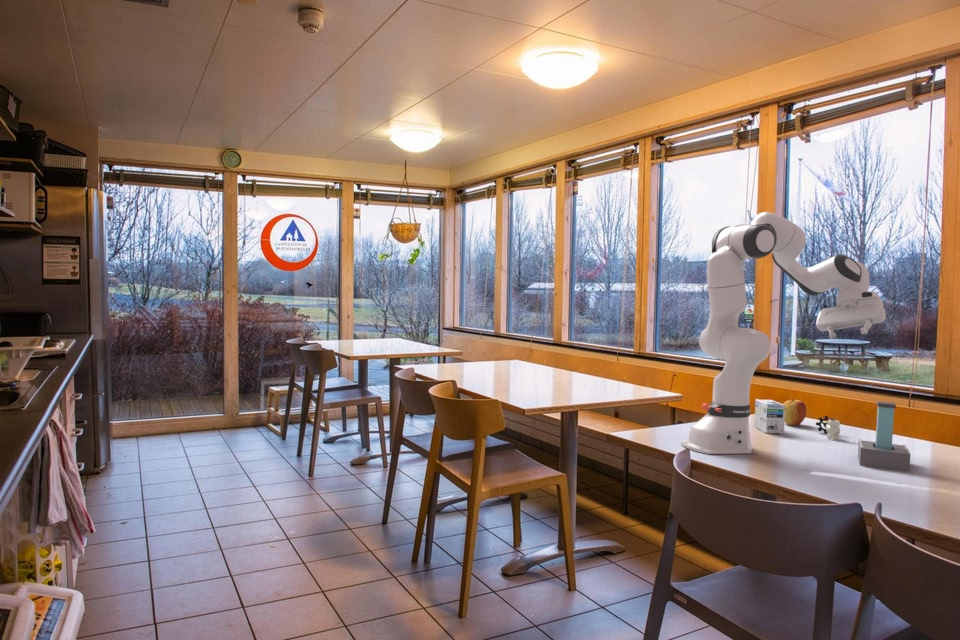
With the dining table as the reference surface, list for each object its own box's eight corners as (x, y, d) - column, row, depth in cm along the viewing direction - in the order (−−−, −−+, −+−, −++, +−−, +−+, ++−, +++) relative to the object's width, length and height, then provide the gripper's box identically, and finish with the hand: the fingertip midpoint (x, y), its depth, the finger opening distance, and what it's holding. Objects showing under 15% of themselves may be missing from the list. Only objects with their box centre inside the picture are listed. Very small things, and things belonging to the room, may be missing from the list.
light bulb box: (784, 434, 229) (786, 404, 229) (765, 433, 229) (767, 403, 229) (771, 427, 240) (772, 399, 240) (753, 427, 240) (754, 398, 240)
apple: (804, 428, 241) (805, 402, 240) (777, 425, 245) (779, 399, 245) (806, 424, 248) (808, 399, 248) (781, 421, 253) (782, 396, 253)
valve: (844, 441, 221) (835, 434, 233) (846, 422, 221) (836, 416, 232) (823, 439, 223) (815, 432, 234) (824, 420, 222) (816, 414, 234)
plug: (892, 466, 185) (895, 404, 184) (874, 464, 187) (877, 403, 186) (890, 463, 189) (894, 402, 188) (873, 460, 191) (876, 401, 190)
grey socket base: (909, 475, 180) (910, 453, 180) (859, 468, 186) (860, 447, 185) (904, 465, 191) (905, 444, 190) (857, 459, 196) (858, 439, 196)
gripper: (815, 303, 221) (810, 334, 213) (881, 291, 205) (878, 323, 198) (823, 314, 223) (818, 345, 216) (889, 303, 208) (886, 336, 201)
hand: (847, 335), depth 207 cm, fingers open, 8 cm apart
